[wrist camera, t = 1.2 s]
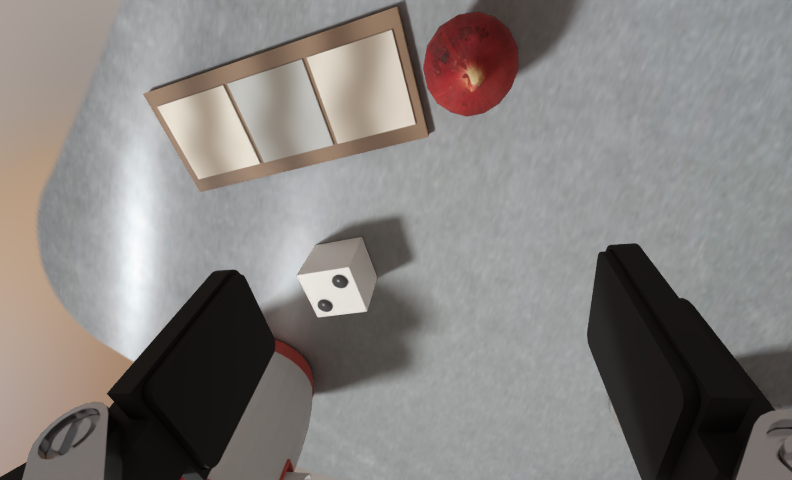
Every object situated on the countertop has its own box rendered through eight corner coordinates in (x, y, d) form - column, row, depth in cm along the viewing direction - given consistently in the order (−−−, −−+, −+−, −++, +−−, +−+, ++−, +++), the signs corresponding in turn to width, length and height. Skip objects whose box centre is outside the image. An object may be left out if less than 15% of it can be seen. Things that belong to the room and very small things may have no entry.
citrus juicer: (336, 417, 52) (277, 612, 35) (216, 388, 53) (102, 566, 36) (348, 341, 44) (278, 550, 27) (205, 307, 44) (49, 490, 27)
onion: (412, 71, 28) (397, 90, 21) (461, -8, 25) (462, -14, 18) (474, 117, 29) (479, 150, 22) (529, 47, 26) (553, 61, 19)
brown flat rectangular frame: (398, 6, 26) (396, 6, 25) (428, 134, 30) (428, 137, 29) (148, 92, 31) (141, 94, 31) (203, 189, 36) (199, 192, 35)
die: (361, 236, 36) (348, 267, 32) (377, 278, 38) (366, 312, 34) (315, 245, 37) (296, 276, 33) (332, 284, 39) (317, 318, 35)
